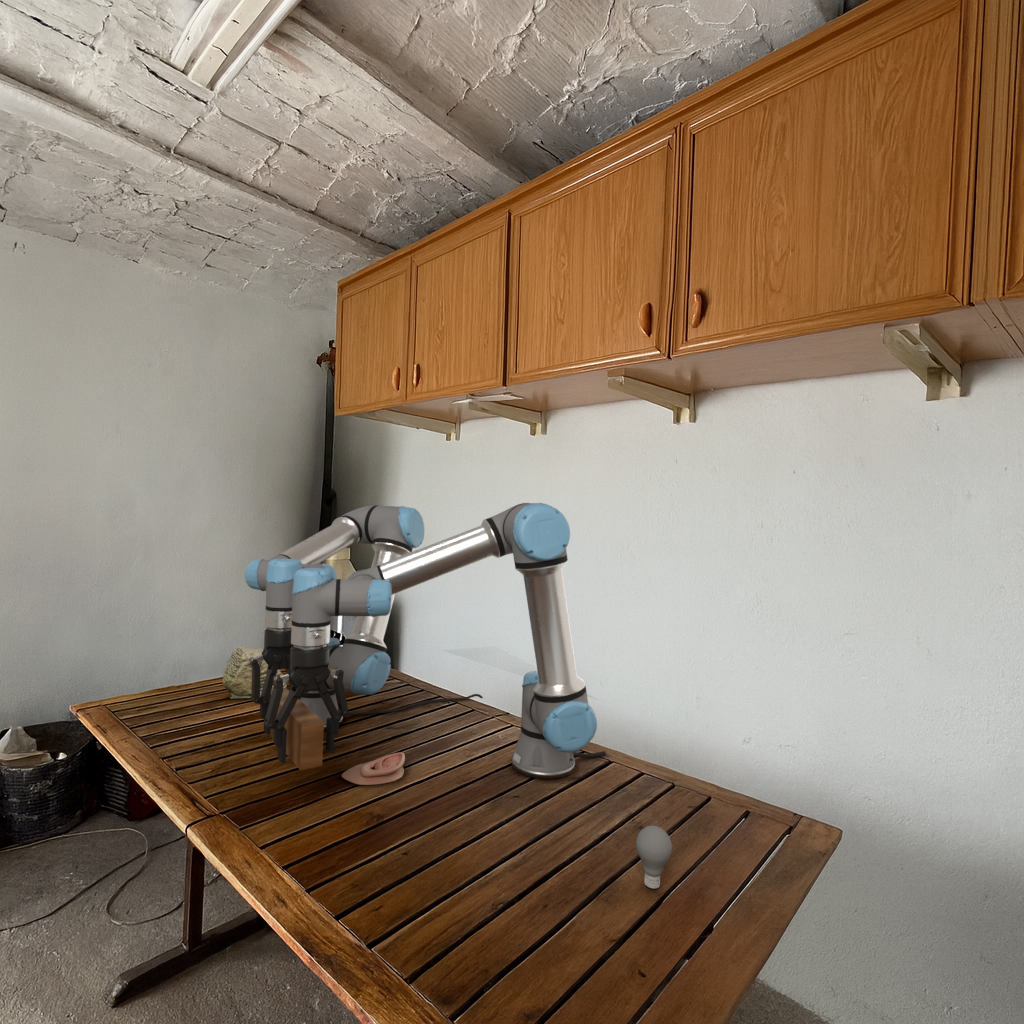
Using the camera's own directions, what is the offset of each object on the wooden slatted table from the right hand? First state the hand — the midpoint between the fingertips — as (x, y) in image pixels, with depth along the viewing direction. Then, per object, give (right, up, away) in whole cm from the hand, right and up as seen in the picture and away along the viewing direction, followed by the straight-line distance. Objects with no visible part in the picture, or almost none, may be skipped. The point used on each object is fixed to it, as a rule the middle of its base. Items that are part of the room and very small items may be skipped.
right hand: (306, 755), depth 128 cm
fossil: (-39, -8, +70) cm, 80 cm away
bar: (-6, -1, +8) cm, 10 cm away
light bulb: (+65, -14, -21) cm, 70 cm away
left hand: (-11, 0, +16) cm, 19 cm away
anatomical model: (+10, -11, +17) cm, 22 cm away
